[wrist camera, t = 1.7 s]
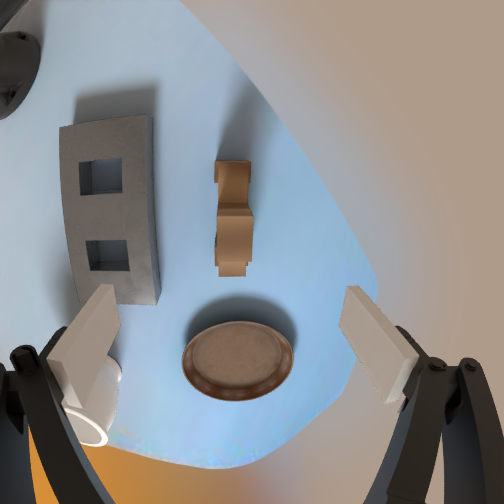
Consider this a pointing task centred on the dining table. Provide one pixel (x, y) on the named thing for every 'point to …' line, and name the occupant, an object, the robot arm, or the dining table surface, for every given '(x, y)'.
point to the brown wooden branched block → (233, 218)
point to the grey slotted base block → (111, 207)
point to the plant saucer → (237, 360)
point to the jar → (97, 406)
